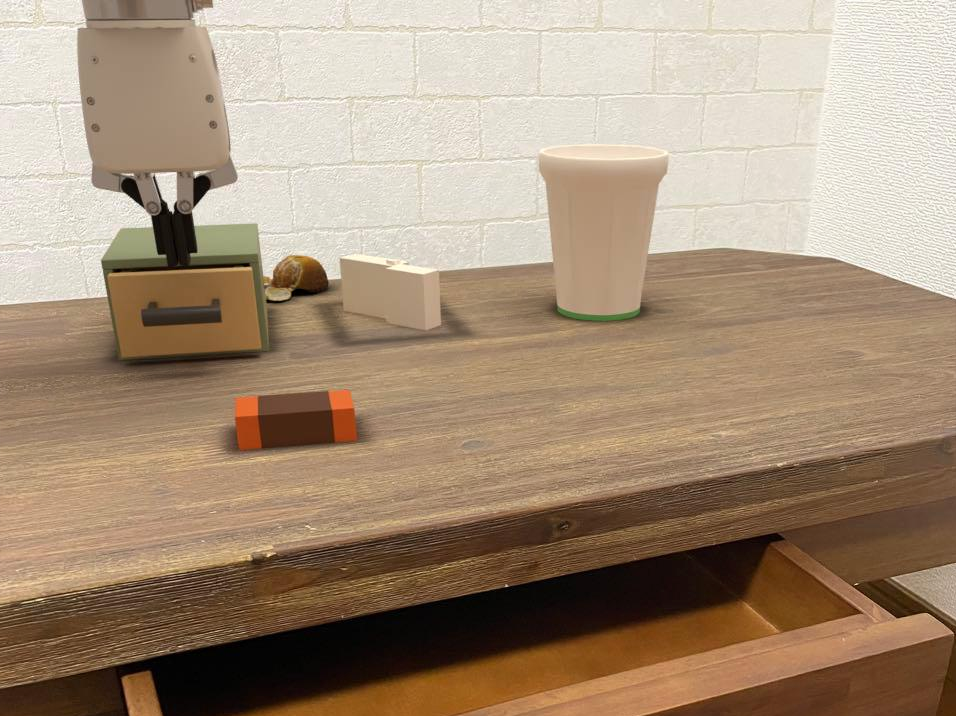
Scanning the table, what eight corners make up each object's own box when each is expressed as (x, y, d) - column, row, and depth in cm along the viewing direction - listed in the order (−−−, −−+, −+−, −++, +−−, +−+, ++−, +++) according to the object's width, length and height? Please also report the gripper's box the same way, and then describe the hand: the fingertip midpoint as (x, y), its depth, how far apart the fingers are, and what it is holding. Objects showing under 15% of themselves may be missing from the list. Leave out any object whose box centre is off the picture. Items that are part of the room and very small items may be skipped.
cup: (684, 317, 103) (696, 154, 97) (577, 333, 98) (581, 162, 91) (616, 291, 113) (622, 141, 106) (515, 304, 108) (515, 147, 101)
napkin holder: (321, 306, 107) (316, 249, 104) (429, 298, 110) (427, 243, 107) (344, 345, 94) (339, 282, 91) (466, 335, 97) (464, 273, 95)
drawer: (261, 365, 86) (251, 282, 83) (115, 374, 83) (99, 289, 80) (260, 310, 101) (252, 239, 98) (137, 317, 99) (124, 244, 96)
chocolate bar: (239, 451, 71) (234, 416, 70) (239, 430, 75) (235, 397, 74) (357, 442, 73) (354, 407, 72) (352, 422, 76) (349, 389, 75)
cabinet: (269, 351, 92) (257, 253, 88) (118, 361, 89) (100, 259, 86) (267, 310, 105) (257, 223, 101) (135, 318, 102) (120, 228, 98)
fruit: (239, 289, 113) (235, 255, 111) (310, 279, 117) (307, 246, 115) (269, 305, 107) (265, 269, 105) (343, 294, 111) (340, 259, 109)
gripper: (245, 5, 80) (274, 249, 88) (36, 6, 76) (87, 259, 85) (245, 5, 73) (276, 268, 82) (16, 6, 70) (73, 279, 78)
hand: (179, 262), depth 83 cm, fingers closed
